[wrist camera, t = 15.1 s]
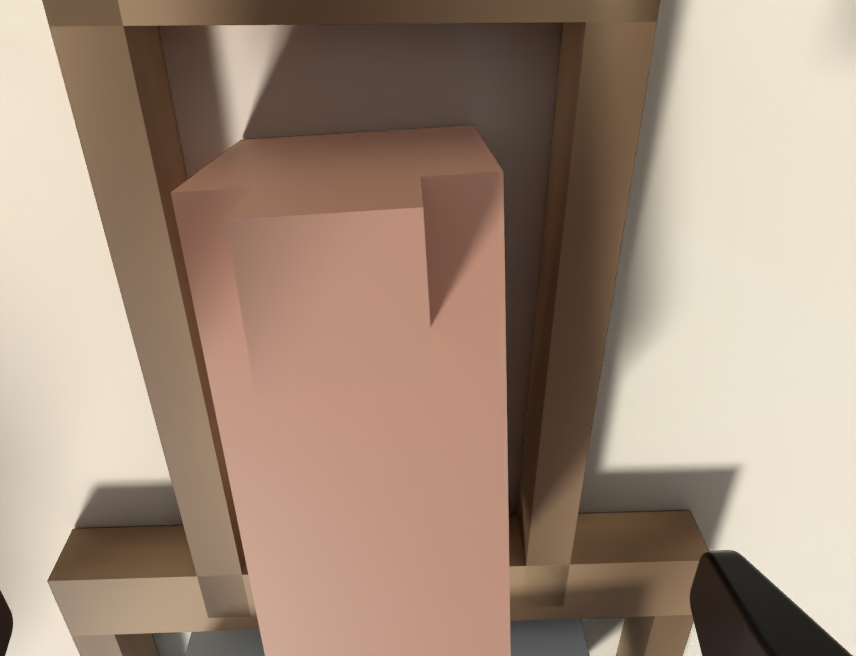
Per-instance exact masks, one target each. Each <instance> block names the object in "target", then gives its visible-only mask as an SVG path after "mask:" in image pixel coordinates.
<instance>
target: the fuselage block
mask: <svg viewBox="0 0 856 656" xmlns="http://www.w3.org/2000/svg"><path fill="white" fill-rule="evenodd" d="M171 197H172V202H173V207H174V212H175V217H176V222H177V227H178V232H179V236H180V241H181V246H182V251H183V256H184V261H185V266H186V271H187V276H188V281H189V285H190V290H191V295H192V300H193V305H194V310H195V315H196V320H197V325H198V330H199V334H200V339H201V344H202V349H203V354H204V359H205V364H206V369H207V374H208V379H209V384H210V388H211V393H212V398H213V403H214V408H215V413H216V418H217V423H218V428H219V433H220V437H221V442H222V447H223V452H224V457H225V462H226V467H227V472H228V477H229V482H230V487H231V491H232V496H233V501H234V506H235V511H236V516H237V521H238V526H239V531H240V536H241V540H242V545H243V550H244V555H245V560H246V565H247V570H248V575H249V580H250V585H251V589H252V594H253V599H254V604H255V609H256V614H257V619H258V624H259V629H260V634H261V639H262V643H263V648H264V653H265V656H511V645H510V578H509V511H508V444H507V377H506V310H505V242H504V175H503V170H502V168H501V167H500V165H499V164H498V162H497V160H496V159H495V157H494V156H493V154H492V153H491V151H490V149H489V148H488V146H487V145H486V143H485V141H484V140H483V138H482V137H481V135H480V134H479V132H478V130H477V129H476V127H475V126H474V125H465V126H450V127H434V128H418V129H402V130H386V131H371V132H355V133H339V134H323V135H307V136H292V137H276V138H260V139H244V140H240V141H239V142H237V143H236V144H235V145H233V146H232V147H231V148H229V149H228V150H227V151H225V152H224V153H223V154H221V155H220V156H219V157H217V158H216V159H215V160H213V161H212V162H211V163H209V164H208V165H207V166H205V167H204V168H203V169H201V170H200V171H199V172H197V173H196V174H195V175H193V176H192V177H191V178H189V179H188V180H187V181H185V182H184V183H183V184H181V185H180V186H179V187H177V188H176V189H175V190H173V191H172V192H171Z"/></svg>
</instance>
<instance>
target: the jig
mask: <svg viewBox="0 0 856 656" xmlns="http://www.w3.org/2000/svg"><path fill="white" fill-rule="evenodd" d="M42 1H43V5H44V9H45V12H46V16H47V20H48V24H49V27H50V31H51V35H52V38H53V42H54V46H55V50H56V53H57V57H58V61H59V65H60V68H61V72H62V76H63V79H64V83H65V87H66V91H67V94H68V98H69V102H70V105H71V109H72V113H73V117H74V120H75V124H76V128H77V132H78V135H79V139H80V143H81V146H82V150H83V154H84V158H85V161H86V165H87V169H88V172H89V176H90V180H91V184H92V187H93V191H94V195H95V199H96V202H97V206H98V210H99V213H100V217H101V221H102V225H103V228H104V232H105V236H106V239H107V243H108V247H109V251H110V254H111V258H112V262H113V265H114V269H115V273H116V277H117V280H118V284H119V288H120V292H121V295H122V299H123V303H124V306H125V310H126V314H127V318H128V321H129V325H130V329H131V332H132V336H133V340H134V344H135V347H136V351H137V355H138V359H139V362H140V366H141V370H142V373H143V377H144V381H145V385H146V388H147V392H148V396H149V399H150V403H151V407H152V411H153V414H154V418H155V422H156V425H157V429H158V433H159V437H160V440H161V444H162V448H163V452H164V455H165V459H166V463H167V466H168V470H169V474H170V478H171V481H172V485H173V489H174V492H175V496H176V500H177V504H178V507H179V511H180V515H181V519H182V522H183V526H151V527H117V528H83V529H73V530H72V532H71V534H70V536H69V538H68V540H67V542H66V544H65V546H64V548H63V550H62V552H61V554H60V556H59V558H58V560H57V562H56V564H55V566H54V568H53V570H52V572H51V574H50V577H49V579H48V581H47V582H48V584H49V586H50V588H51V591H52V593H53V595H54V597H55V600H56V602H57V604H58V606H59V609H60V611H61V613H62V615H63V618H64V620H65V622H66V624H67V627H68V629H69V631H70V634H71V636H72V638H73V640H74V643H75V645H76V647H77V649H78V652H79V654H80V656H159V654H158V651H157V648H156V645H155V642H154V639H153V636H152V633H173V632H202V631H231V630H260V629H259V624H258V619H257V614H256V609H255V604H254V599H253V594H252V589H251V585H250V580H249V575H248V570H247V565H246V560H245V555H244V550H243V545H242V540H241V536H240V531H239V526H238V521H237V516H236V511H235V506H234V501H233V496H232V491H231V487H230V482H229V477H228V472H227V467H226V462H225V457H224V452H223V447H222V442H221V437H220V433H219V428H218V423H217V418H216V413H215V408H214V403H213V398H212V393H211V388H210V384H209V379H208V374H207V369H206V364H205V359H204V354H203V349H202V344H201V339H200V334H199V330H198V325H197V320H196V315H195V310H194V305H193V300H192V295H191V290H190V285H189V281H188V276H187V271H186V266H185V261H184V256H183V251H182V246H181V241H180V236H179V232H178V227H177V222H176V217H175V212H174V207H173V202H172V197H171V192H172V191H173V190H175V189H176V188H177V187H179V186H180V185H181V184H183V183H184V182H185V181H187V175H186V170H185V165H184V160H183V154H182V149H181V144H180V139H179V134H178V128H177V123H176V118H175V113H174V108H173V102H172V97H171V92H170V87H169V81H168V76H167V71H166V66H165V61H164V55H163V50H162V45H161V40H160V35H159V29H158V26H173V25H297V24H421V23H544V22H563V30H562V40H561V51H560V61H559V72H558V83H557V93H556V104H555V115H554V125H553V136H552V147H551V157H550V168H549V178H548V189H547V200H546V210H545V221H544V232H543V242H542V253H541V263H540V274H539V285H538V295H537V306H536V317H535V327H534V338H533V349H532V359H531V370H530V380H529V391H528V402H527V412H526V423H525V434H524V444H523V455H522V465H521V476H520V487H519V497H518V508H517V516H509V578H510V621H525V620H555V619H584V618H614V617H625V621H624V625H623V629H622V633H621V637H620V642H619V646H618V650H617V654H616V656H682V655H683V652H684V649H685V646H686V643H687V640H688V637H689V634H690V631H691V628H692V624H693V621H694V620H693V616H692V612H691V608H690V590H691V586H692V583H693V580H694V576H695V573H696V570H697V566H698V563H699V560H700V557H701V555H702V554H703V553H704V552H706V551H709V550H708V548H707V546H706V543H705V541H704V539H703V537H702V535H701V532H700V530H699V528H698V526H697V524H696V522H695V519H694V517H693V515H692V513H691V511H660V512H626V513H592V514H578V511H579V505H580V498H581V492H582V486H583V480H584V473H585V467H586V461H587V455H588V448H589V442H590V436H591V430H592V423H593V417H594V411H595V405H596V398H597V392H598V386H599V380H600V373H601V367H602V361H603V355H604V348H605V342H606V336H607V330H608V323H609V317H610V311H611V305H612V298H613V292H614V286H615V280H616V273H617V267H618V261H619V255H620V248H621V242H622V236H623V230H624V223H625V217H626V211H627V204H628V198H629V192H630V186H631V179H632V173H633V167H634V161H635V154H636V148H637V142H638V136H639V129H640V123H641V117H642V111H643V104H644V98H645V92H646V86H647V79H648V73H649V67H650V61H651V54H652V48H653V42H654V36H655V29H656V23H657V17H658V11H659V4H660V0H42Z"/></svg>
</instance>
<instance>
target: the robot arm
mask: <svg viewBox="0 0 856 656" xmlns="http://www.w3.org/2000/svg"><path fill="white" fill-rule="evenodd" d="M690 608H691V612H692V616H693V620H694V624H695V628H696V632H697V636H698V640H699V644H700V648H701V652H702V656H852V655H851V654H850V653H849V652H848V651H847V650H846V649H845V648H844V647H843V646H841V645H840V644H839V643H838V642H837V641H836V640H835V639H834V638H833V637H831V636H830V635H829V634H828V633H827V632H826V631H825V630H824V629H823V628H822V627H820V626H819V625H818V624H817V623H816V622H815V621H814V620H813V619H812V618H811V617H809V616H808V615H807V614H806V613H805V612H804V611H803V610H802V609H801V608H800V607H798V606H797V605H796V604H795V603H794V602H793V601H792V600H791V599H790V598H788V597H787V596H786V595H785V594H784V593H783V592H782V591H781V590H780V589H779V588H777V587H776V586H775V585H774V584H773V583H772V582H771V581H770V580H769V579H768V578H766V577H765V576H764V575H763V574H762V573H761V572H760V571H759V570H758V569H756V568H755V567H754V566H753V565H752V564H751V563H750V562H749V561H748V560H747V559H745V558H744V557H743V556H742V555H741V554H739V553H738V552H736V551H732V550H718V551H706V552H704V553H703V554H702V555H701V557H700V560H699V563H698V566H697V570H696V573H695V576H694V580H693V583H692V586H691V590H690ZM12 628H13V618H12V613H11V611H10V609H9V607H8V605H7V603H6V601H5V599H4V597H3V595H2V593H1V591H0V656H5V654H6V651H7V647H8V644H9V641H10V637H11V634H12Z"/></svg>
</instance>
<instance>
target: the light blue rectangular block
mask: <svg viewBox="0 0 856 656" xmlns="http://www.w3.org/2000/svg"><path fill="white" fill-rule="evenodd" d="M510 645H511V656H589V652H588V648H587V644H586V640H585V636H584V632H583V628H582V624H581V619H555V620H525V621H510ZM186 656H265V653H264V648H263V643H262V639H261V634H260V630H231V631H202V632H192V633H191V637H190V641H189V644H188V648H187V652H186Z"/></svg>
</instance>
